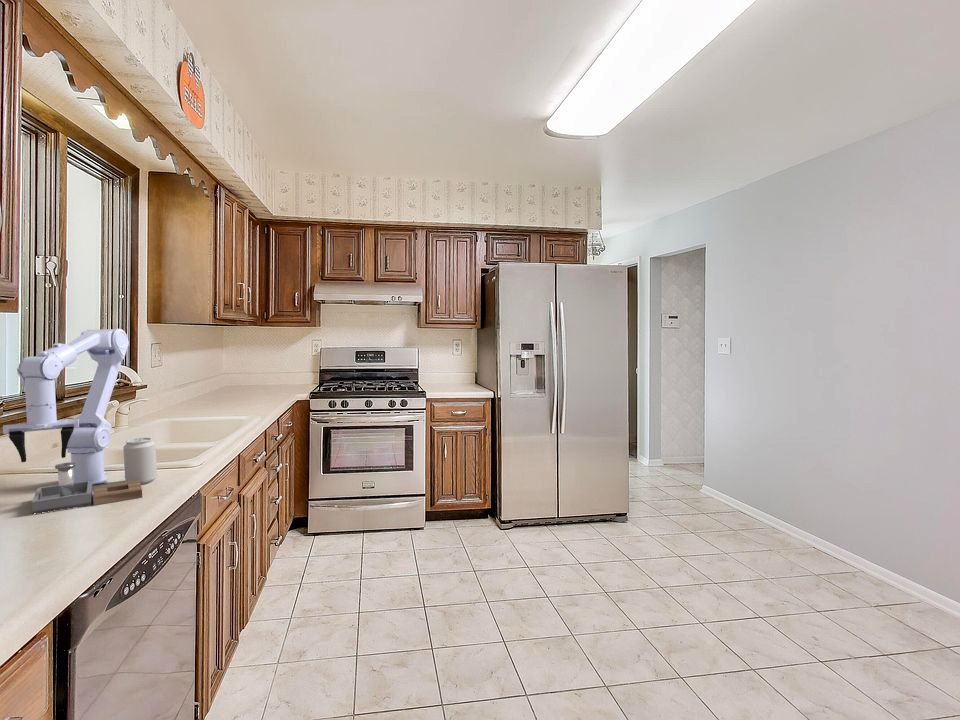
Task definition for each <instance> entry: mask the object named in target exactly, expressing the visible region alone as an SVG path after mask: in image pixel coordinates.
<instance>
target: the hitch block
mask: <svg viewBox="0 0 960 720" xmlns="http://www.w3.org/2000/svg"><path fill="white" fill-rule="evenodd" d="M135 498H136V499H141V498H142V499H143V488H142V485H141V482H140V480H138V481H131V482H126V481H125V482H118V483H112V484H106V485H100V486H99V485H98V486H93V494H92V501H93V506H98V505H97V504H99V505H103V504H111V503H116V502H123V501H128V500H135Z"/></svg>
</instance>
